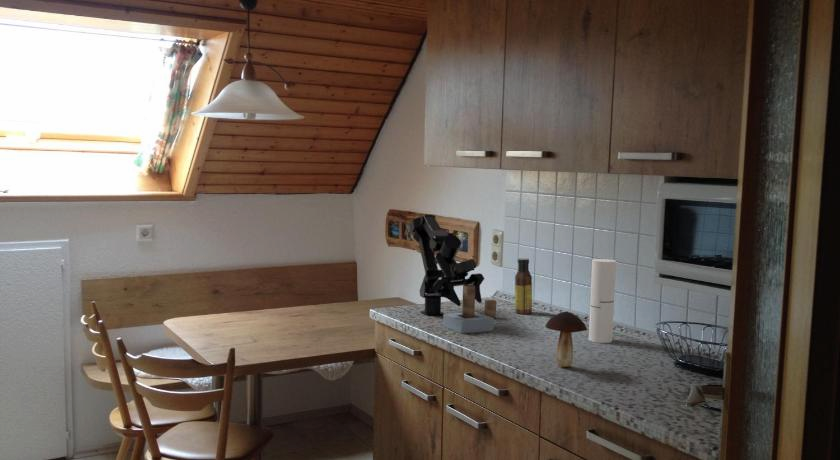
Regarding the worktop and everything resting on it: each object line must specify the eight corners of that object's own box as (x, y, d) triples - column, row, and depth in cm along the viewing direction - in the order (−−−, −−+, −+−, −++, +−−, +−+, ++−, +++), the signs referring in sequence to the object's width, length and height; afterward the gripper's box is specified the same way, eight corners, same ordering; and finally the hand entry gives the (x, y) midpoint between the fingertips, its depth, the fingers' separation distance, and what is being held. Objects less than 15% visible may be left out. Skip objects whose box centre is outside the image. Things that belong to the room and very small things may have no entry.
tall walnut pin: (459, 327, 250) (460, 285, 249) (470, 326, 252) (471, 284, 251) (465, 329, 247) (466, 287, 245) (476, 328, 248) (477, 286, 247)
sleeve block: (443, 325, 252) (443, 313, 251) (474, 323, 257) (474, 311, 257) (461, 333, 241) (461, 321, 241) (493, 330, 247) (493, 318, 246)
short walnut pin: (482, 316, 268) (482, 300, 267) (491, 316, 270) (492, 299, 269) (488, 319, 264) (488, 302, 264) (497, 318, 266) (498, 301, 266)
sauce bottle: (531, 311, 280) (533, 257, 278) (532, 314, 274) (534, 260, 272) (513, 310, 280) (515, 257, 279) (514, 314, 274) (515, 259, 272)
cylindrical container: (612, 343, 232) (616, 262, 230) (588, 342, 233) (592, 261, 231) (611, 338, 239) (615, 259, 237) (588, 336, 240) (591, 258, 238)
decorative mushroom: (567, 360, 211) (569, 306, 210) (594, 369, 202) (596, 314, 200) (535, 364, 206) (537, 309, 205) (561, 374, 196) (563, 317, 195)
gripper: (439, 252, 245) (461, 291, 237) (481, 249, 256) (503, 286, 249) (423, 273, 251) (444, 312, 244) (465, 269, 263) (486, 306, 256)
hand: (470, 303), depth 248 cm, fingers open, 9 cm apart
